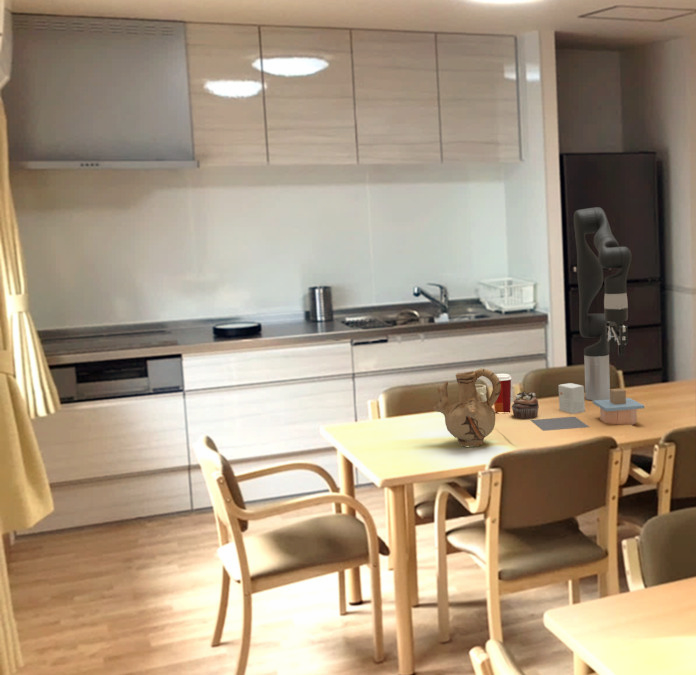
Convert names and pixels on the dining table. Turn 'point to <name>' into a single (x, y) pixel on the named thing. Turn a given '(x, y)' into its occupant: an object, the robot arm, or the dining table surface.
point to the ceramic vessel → (469, 408)
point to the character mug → (481, 391)
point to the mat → (559, 423)
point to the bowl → (619, 416)
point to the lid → (618, 402)
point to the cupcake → (525, 406)
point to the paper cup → (504, 393)
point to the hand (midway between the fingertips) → (617, 354)
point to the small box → (571, 398)
